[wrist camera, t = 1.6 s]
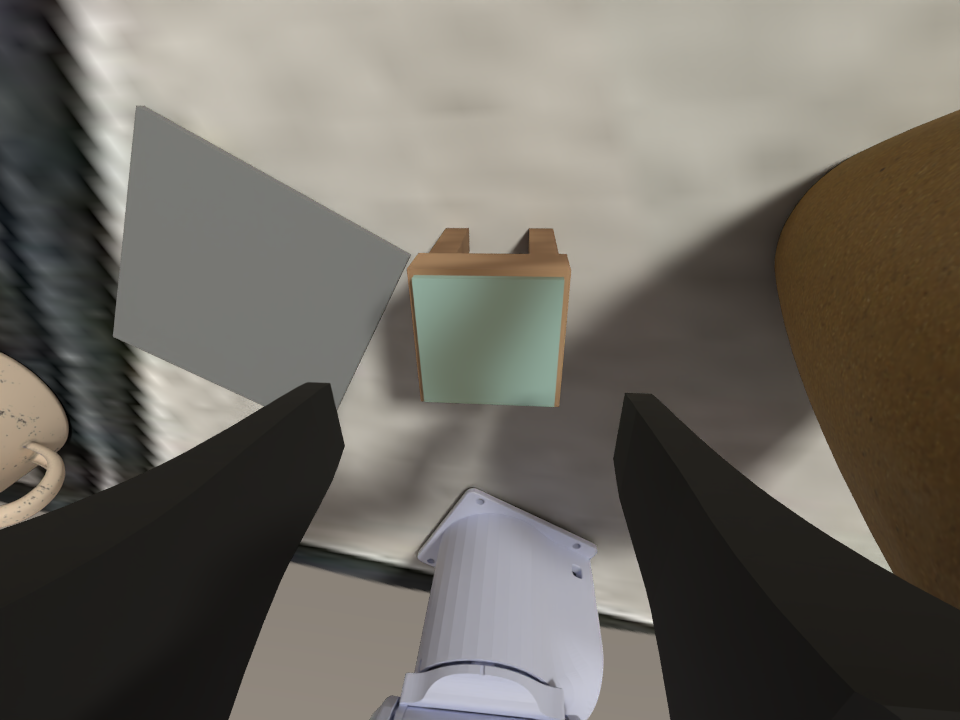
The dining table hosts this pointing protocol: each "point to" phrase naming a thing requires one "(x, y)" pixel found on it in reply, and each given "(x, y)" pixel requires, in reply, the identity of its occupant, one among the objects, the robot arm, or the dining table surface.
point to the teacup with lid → (29, 438)
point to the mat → (243, 270)
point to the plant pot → (886, 339)
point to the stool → (490, 321)
